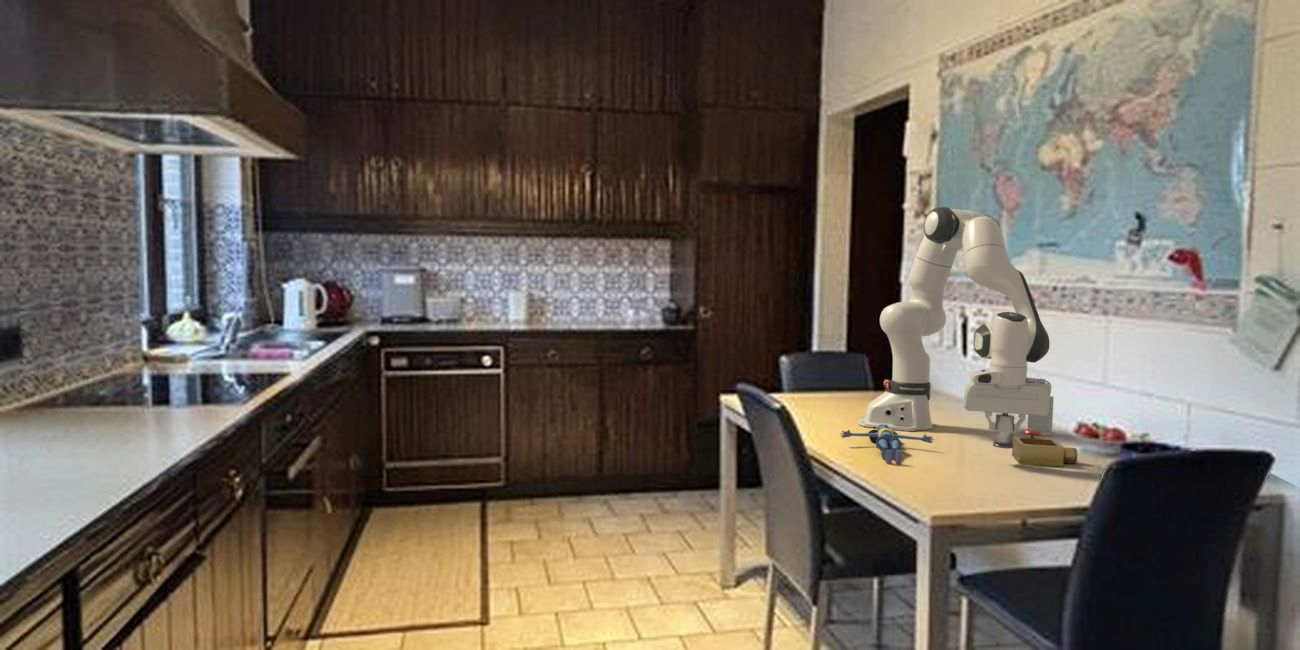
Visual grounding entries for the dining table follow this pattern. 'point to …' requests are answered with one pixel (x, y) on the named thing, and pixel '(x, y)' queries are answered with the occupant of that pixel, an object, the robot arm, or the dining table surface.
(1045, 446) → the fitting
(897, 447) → the figurine
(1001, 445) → the cylinder
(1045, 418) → the skincare box
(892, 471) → the dining table surface
